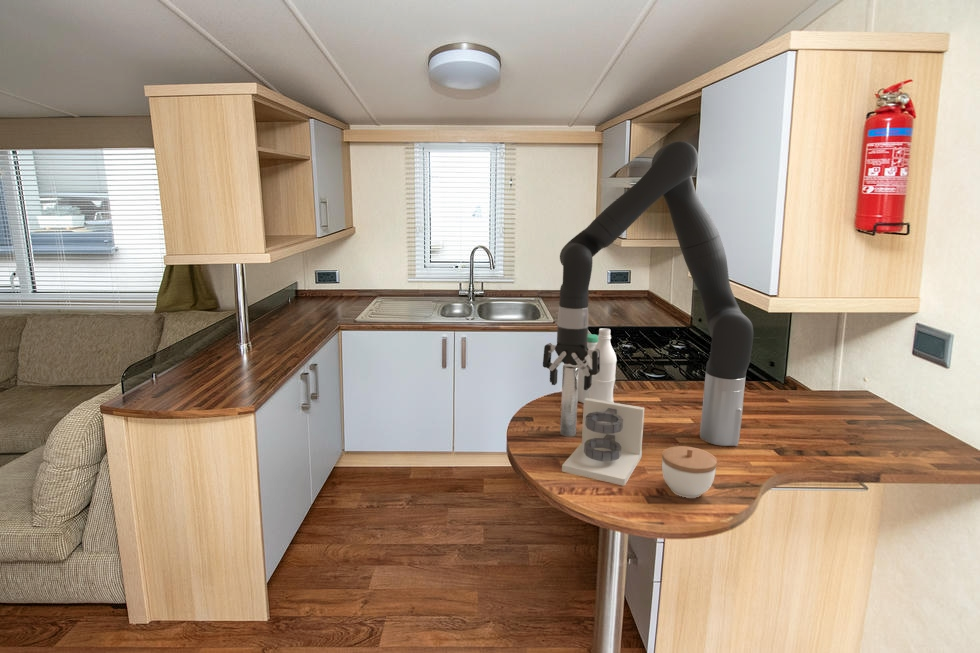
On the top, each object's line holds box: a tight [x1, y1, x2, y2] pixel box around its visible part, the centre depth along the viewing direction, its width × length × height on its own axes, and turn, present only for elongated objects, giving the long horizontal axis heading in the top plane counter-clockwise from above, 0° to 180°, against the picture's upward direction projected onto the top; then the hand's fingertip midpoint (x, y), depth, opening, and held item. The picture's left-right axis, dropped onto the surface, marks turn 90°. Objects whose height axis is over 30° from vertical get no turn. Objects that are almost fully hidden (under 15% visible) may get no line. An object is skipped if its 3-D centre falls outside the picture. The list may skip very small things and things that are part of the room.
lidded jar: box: [661, 445, 718, 499], centre depth 121 cm, size 11×11×9 cm
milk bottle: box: [577, 333, 599, 404], centre depth 174 cm, size 8×8×20 cm
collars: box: [584, 408, 623, 461], centre depth 133 cm, size 8×11×8 cm
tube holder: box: [561, 398, 645, 487], centre depth 133 cm, size 14×16×12 cm
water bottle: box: [589, 327, 617, 403], centre depth 160 cm, size 7×7×25 cm
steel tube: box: [559, 364, 579, 438], centre depth 149 cm, size 4×4×18 cm
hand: (570, 386), depth 149 cm, fingers open, 8 cm apart
